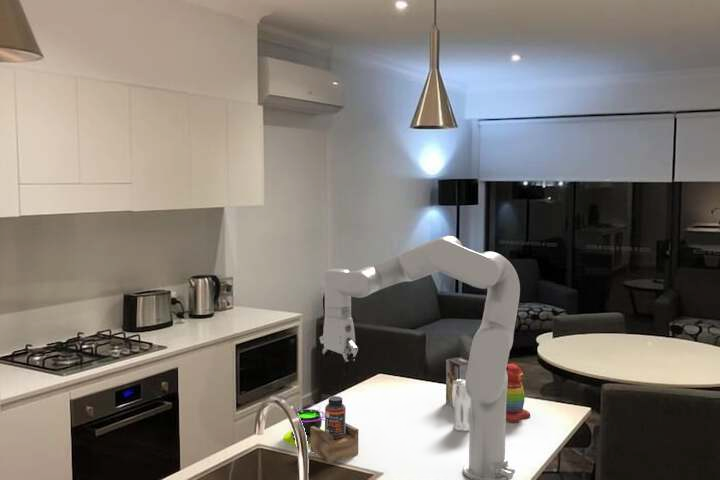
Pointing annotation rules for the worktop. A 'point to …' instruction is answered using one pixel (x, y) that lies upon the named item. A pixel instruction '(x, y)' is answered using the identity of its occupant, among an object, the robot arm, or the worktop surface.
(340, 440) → the pedestal
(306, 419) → the toy cauldron
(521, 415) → the stacking bear
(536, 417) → the worktop surface
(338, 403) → the supplement bottle
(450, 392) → the coffee box
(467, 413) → the white cylindrical cup
